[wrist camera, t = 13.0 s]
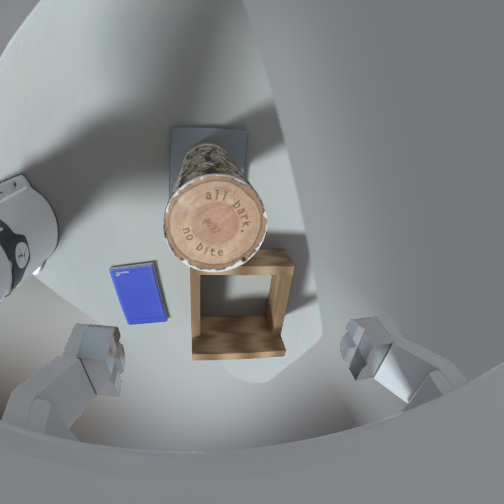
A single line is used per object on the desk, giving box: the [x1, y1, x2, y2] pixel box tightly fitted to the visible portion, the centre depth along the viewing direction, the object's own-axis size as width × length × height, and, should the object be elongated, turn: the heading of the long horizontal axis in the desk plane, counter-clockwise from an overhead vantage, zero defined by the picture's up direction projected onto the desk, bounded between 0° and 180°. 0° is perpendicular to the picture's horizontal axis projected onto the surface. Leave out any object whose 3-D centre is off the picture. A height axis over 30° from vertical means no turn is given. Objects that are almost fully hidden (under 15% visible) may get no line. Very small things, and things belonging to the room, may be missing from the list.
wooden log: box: [163, 142, 267, 272], centre depth 29 cm, size 7×7×25 cm
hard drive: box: [109, 262, 168, 325], centre depth 49 cm, size 2×8×12 cm
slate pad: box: [169, 127, 248, 198], centre depth 41 cm, size 11×11×1 cm
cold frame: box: [190, 249, 295, 360], centre depth 48 cm, size 16×16×10 cm
